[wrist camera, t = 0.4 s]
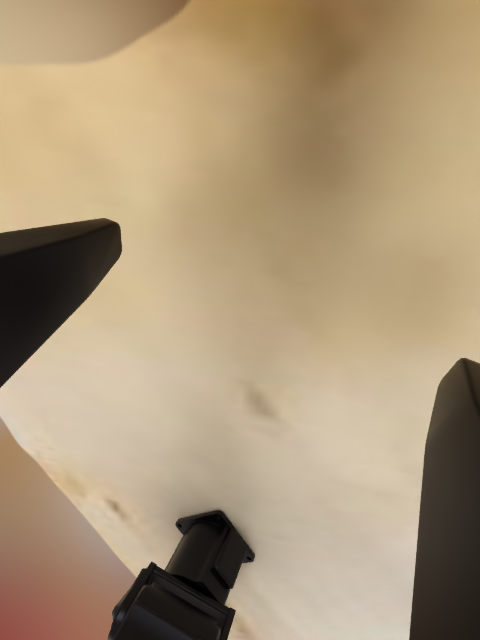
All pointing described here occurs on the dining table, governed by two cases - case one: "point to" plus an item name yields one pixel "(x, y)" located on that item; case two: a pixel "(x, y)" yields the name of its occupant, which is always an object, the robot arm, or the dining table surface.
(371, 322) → the dining table surface
